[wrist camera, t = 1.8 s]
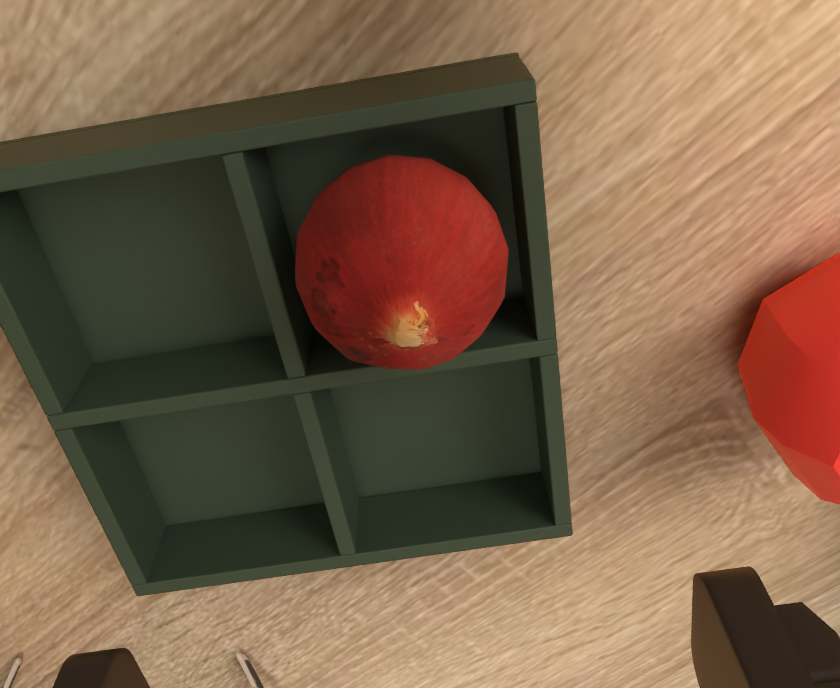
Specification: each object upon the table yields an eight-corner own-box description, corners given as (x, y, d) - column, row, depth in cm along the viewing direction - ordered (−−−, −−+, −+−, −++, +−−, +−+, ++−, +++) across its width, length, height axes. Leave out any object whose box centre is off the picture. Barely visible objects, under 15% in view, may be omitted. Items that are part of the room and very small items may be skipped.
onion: (392, 325, 27) (393, 481, 20) (268, 208, 25) (222, 339, 18) (527, 219, 25) (578, 350, 18) (407, 81, 23) (414, 173, 16)
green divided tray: (-18, 145, 24) (-73, 182, 21) (517, 52, 23) (535, 78, 20) (158, 532, 32) (136, 597, 29) (556, 475, 31) (573, 536, 28)
